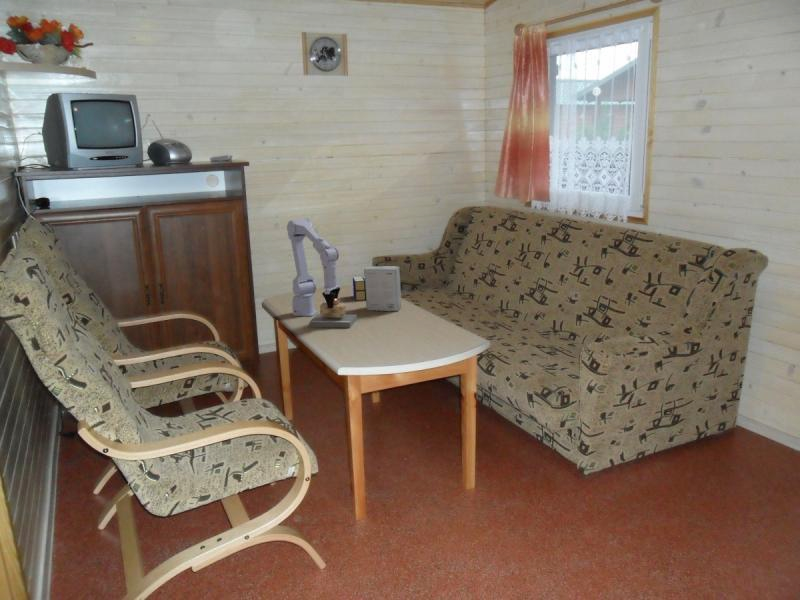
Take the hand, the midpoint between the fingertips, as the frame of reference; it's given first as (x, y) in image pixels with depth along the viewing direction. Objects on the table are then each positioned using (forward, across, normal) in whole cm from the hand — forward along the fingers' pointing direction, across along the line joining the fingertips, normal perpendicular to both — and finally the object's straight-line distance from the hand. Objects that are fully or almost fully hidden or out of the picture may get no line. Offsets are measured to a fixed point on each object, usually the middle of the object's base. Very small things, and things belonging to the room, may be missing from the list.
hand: (332, 306), depth 283 cm
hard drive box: (+8, +25, -18) cm, 32 cm away
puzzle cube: (+8, +46, -4) cm, 47 cm away
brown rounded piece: (-1, 0, 0) cm, 1 cm away
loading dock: (+8, 0, 0) cm, 8 cm away
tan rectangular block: (+4, 0, 0) cm, 4 cm away
